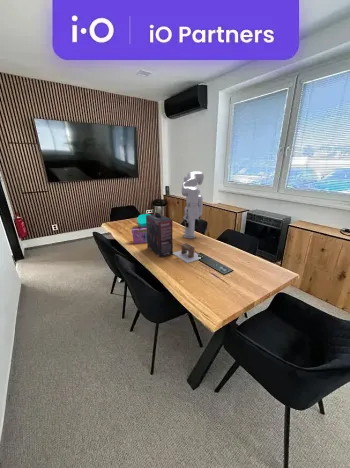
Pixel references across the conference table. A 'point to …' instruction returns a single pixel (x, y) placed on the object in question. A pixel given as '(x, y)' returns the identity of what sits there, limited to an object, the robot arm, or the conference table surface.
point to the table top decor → (142, 220)
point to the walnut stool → (187, 247)
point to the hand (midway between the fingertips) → (191, 226)
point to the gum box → (139, 235)
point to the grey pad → (186, 257)
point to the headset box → (159, 234)
